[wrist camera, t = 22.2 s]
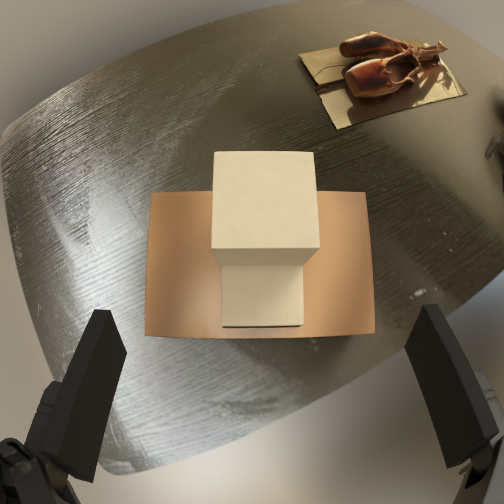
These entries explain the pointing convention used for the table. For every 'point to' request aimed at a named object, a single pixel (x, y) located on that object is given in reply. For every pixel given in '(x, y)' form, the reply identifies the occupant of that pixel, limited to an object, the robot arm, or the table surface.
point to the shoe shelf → (210, 272)
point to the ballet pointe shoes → (379, 77)
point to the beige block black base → (263, 234)
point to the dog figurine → (500, 141)
